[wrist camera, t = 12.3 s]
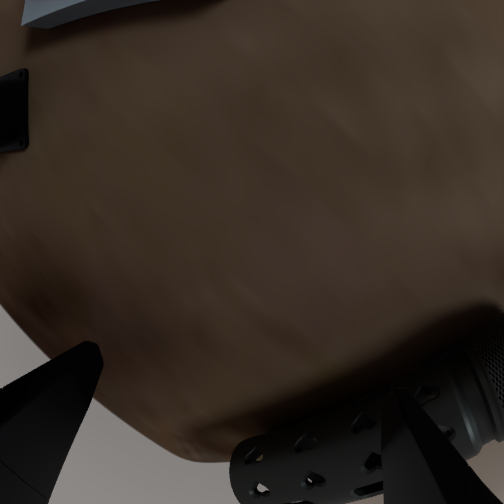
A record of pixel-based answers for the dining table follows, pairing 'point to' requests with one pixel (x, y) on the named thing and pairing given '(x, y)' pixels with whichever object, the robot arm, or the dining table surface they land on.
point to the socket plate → (67, 10)
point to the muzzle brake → (376, 430)
